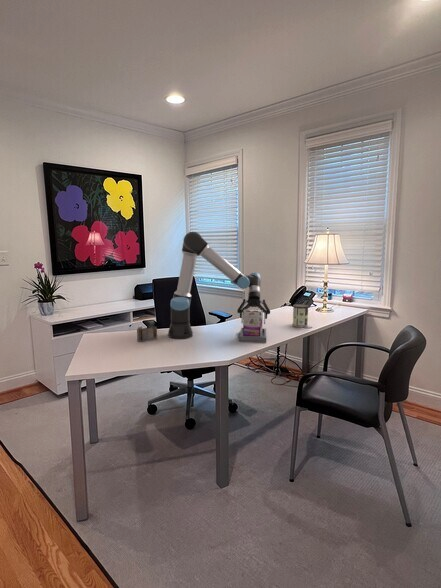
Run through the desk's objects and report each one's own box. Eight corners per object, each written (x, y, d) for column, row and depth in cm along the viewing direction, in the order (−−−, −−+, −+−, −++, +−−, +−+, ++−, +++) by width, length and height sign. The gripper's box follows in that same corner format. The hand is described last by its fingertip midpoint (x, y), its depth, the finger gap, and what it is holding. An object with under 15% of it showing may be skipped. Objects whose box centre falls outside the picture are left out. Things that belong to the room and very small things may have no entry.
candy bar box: (262, 336, 216) (263, 309, 214) (260, 338, 212) (260, 311, 209) (245, 334, 221) (245, 308, 218) (242, 336, 216) (243, 309, 213)
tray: (239, 341, 208) (239, 336, 208) (241, 332, 228) (241, 327, 227) (266, 342, 206) (266, 337, 206) (265, 333, 226) (266, 328, 225)
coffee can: (301, 322, 253) (302, 303, 251) (310, 326, 244) (311, 306, 242) (289, 324, 250) (290, 304, 247) (297, 327, 240) (298, 307, 238)
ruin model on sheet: (138, 343, 205) (138, 327, 203) (137, 341, 207) (136, 325, 206) (157, 340, 210) (157, 324, 209) (155, 339, 213) (155, 323, 211)
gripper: (273, 298, 227) (273, 326, 215) (235, 297, 230) (233, 325, 218) (274, 291, 221) (274, 320, 209) (234, 290, 224) (232, 318, 211)
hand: (253, 322), depth 213 cm, fingers open, 13 cm apart
